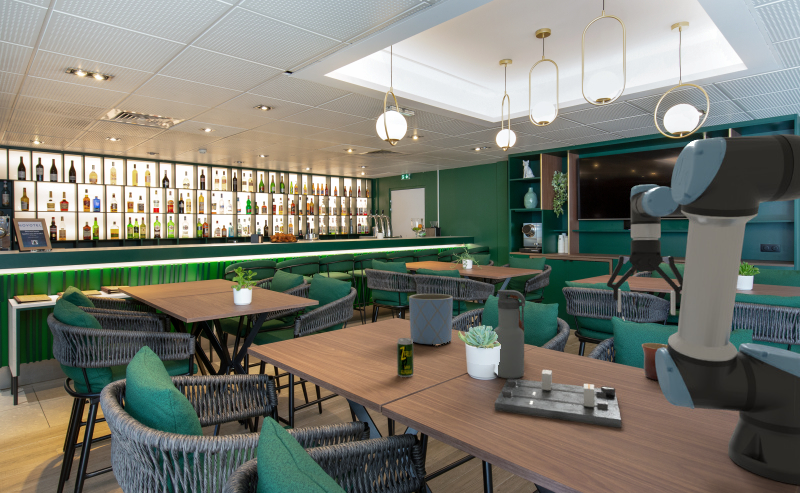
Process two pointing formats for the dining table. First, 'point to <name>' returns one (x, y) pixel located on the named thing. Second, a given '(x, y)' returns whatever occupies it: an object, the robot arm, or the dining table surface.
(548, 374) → the fader
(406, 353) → the beer can
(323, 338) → the dining table surface
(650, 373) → the mug
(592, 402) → the block
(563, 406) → the console board
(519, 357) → the water bottle
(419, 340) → the planter
